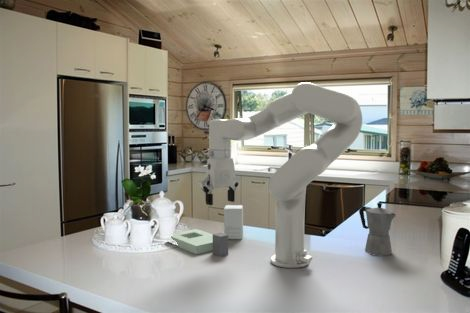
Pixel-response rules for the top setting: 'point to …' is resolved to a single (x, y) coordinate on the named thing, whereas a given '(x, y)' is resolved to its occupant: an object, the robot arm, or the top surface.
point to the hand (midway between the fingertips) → (220, 203)
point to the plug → (220, 244)
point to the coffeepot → (377, 229)
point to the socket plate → (194, 241)
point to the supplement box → (233, 221)
